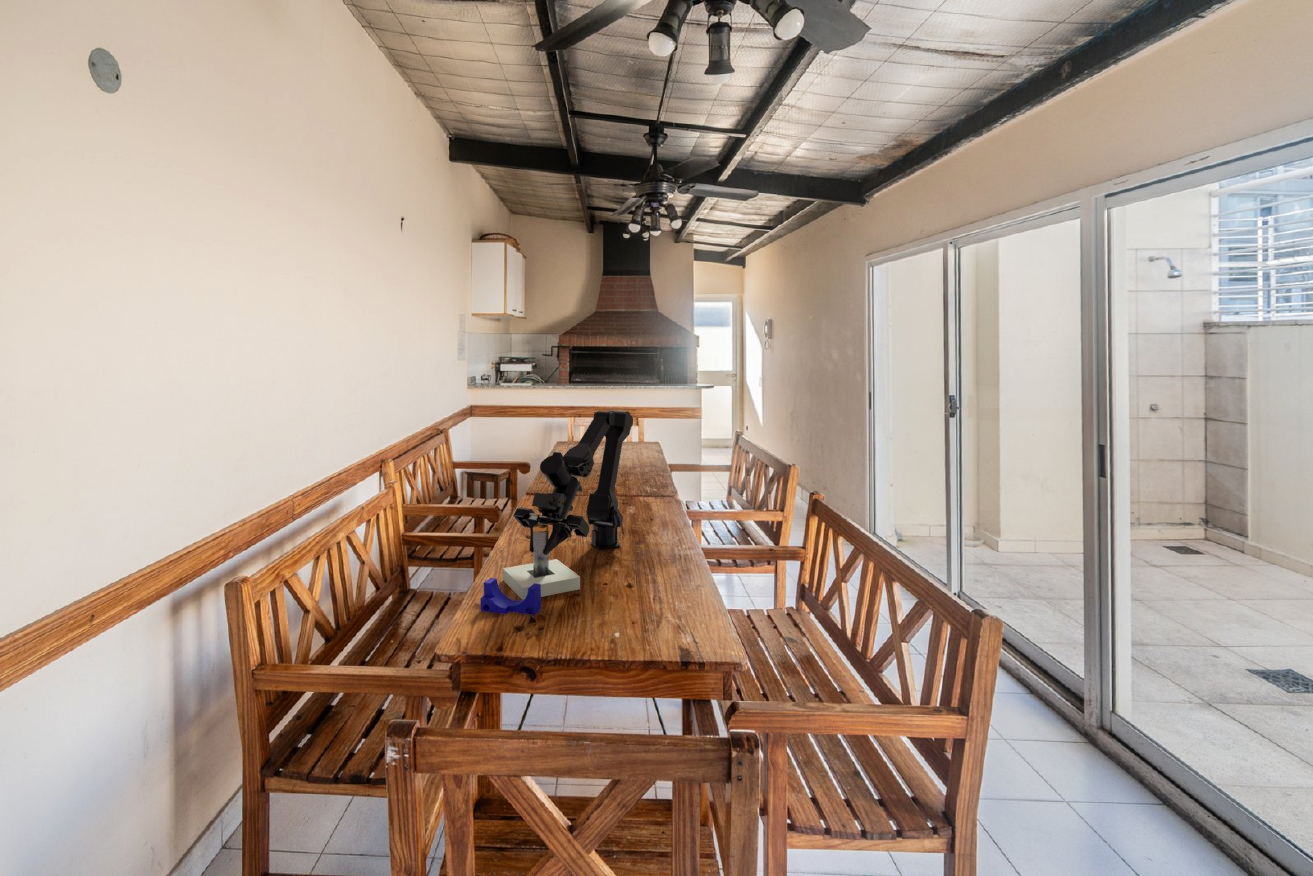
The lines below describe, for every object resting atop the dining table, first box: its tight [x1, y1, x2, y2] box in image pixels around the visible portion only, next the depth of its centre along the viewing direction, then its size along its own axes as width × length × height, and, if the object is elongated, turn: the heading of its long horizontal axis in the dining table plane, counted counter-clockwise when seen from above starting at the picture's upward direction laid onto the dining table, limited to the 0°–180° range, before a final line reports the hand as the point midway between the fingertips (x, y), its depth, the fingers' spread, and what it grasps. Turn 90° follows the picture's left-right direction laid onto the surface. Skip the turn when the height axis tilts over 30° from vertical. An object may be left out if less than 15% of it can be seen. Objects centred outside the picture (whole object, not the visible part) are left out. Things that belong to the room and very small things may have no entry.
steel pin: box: [532, 524, 550, 578], centre depth 151 cm, size 4×4×13 cm
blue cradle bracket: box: [479, 577, 542, 616], centre depth 137 cm, size 12×4×6 cm, turn 75°
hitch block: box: [502, 558, 581, 600], centre depth 152 cm, size 14×14×3 cm
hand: (537, 552), depth 150 cm, fingers closed on steel pin, 3 cm apart
